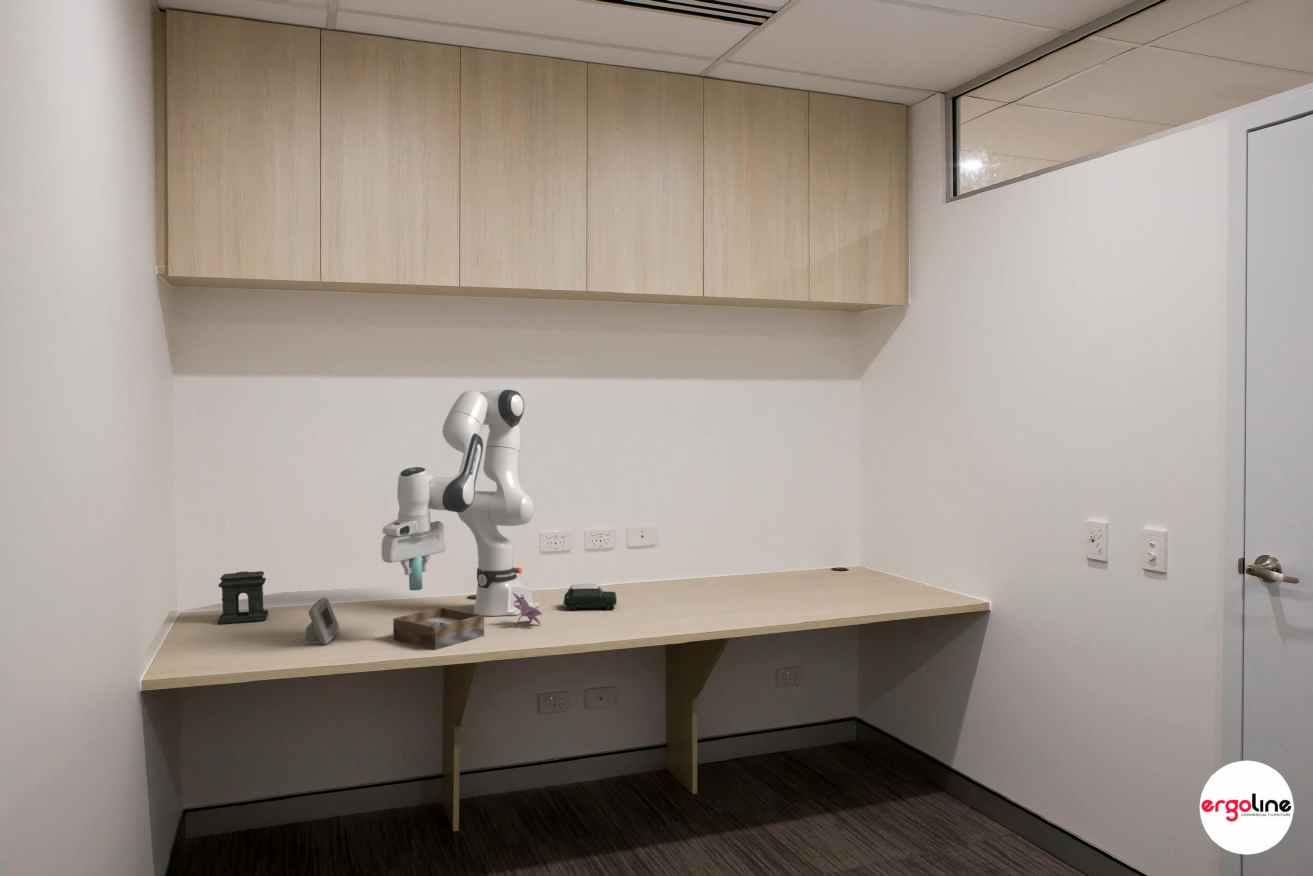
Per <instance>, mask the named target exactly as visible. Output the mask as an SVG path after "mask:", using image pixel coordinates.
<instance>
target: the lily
mask: <svg viewBox="0 0 1313 876" xmlns="http://www.w3.org/2000/svg"><path fill="white" fill-rule="evenodd" d="M513 595H514V596H515V597H516V599H517V600H518V602H519V604H520V606H519V605H515V607H516V608H518V609H519V610H521V613H520V616H519V618H518V620H517V622H516V624H515V627H514V628H517V626H518V624H519V621H520V620H521V618H522V617H527V618H528V620H529V621H530V622H533V620H534V621H535V622H537V623H538V625H540V626H542V624H541V622H540V620H539V618H537V617H538V616H542V615H543V613H542V612H541V611H540V610H539V609H537V607H536V608H534V607H531V606H530V607H529V604H528V603H527V601H526V600H525V599H524V600H522V599H521V598H520V597H519V596H517V595H516V594H515V593H513ZM520 607H521V609H520Z"/></svg>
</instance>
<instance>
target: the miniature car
mask: <svg viewBox="0 0 1313 876" xmlns="http://www.w3.org/2000/svg"><path fill="white" fill-rule="evenodd" d="M562 605H563V607H566V608H567V609H568V611H569V612H575V611H577V607H578V608H603V607H604V609H605V611H609V612H611V611H613V610H614V607H617V605H618V600H617V594H616V592H615V591H603V589H602V588H601V587H600V585H599V584H596V583H586V582H585V583H575V584H572V585H570V587H569V589H568V590H567V591H566V592H565V594H564V596H563V602H562Z"/></svg>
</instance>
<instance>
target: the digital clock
mask: <svg viewBox="0 0 1313 876" xmlns="http://www.w3.org/2000/svg"><path fill="white" fill-rule="evenodd" d="M308 615H309V618H310V620H311V622H310V623H309V624H308V625H307V627H305V643H306V642H320V643H319V644H321V645H324V646H325V645H328V644H329V643H331V641H332V640H333V638H334V637H335V636H336V634H337V633H338V632H339V631H340V625H339V622H338V620H337V618H336V614H335V612H334V609H333V607H332V605H331V603H330V600H329V598H328V597H325V596H323V597H321V598H320V599H318V600H317V601H316V602H315V603H314V605H312V607H311V608H310V609H309V611H308Z"/></svg>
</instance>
